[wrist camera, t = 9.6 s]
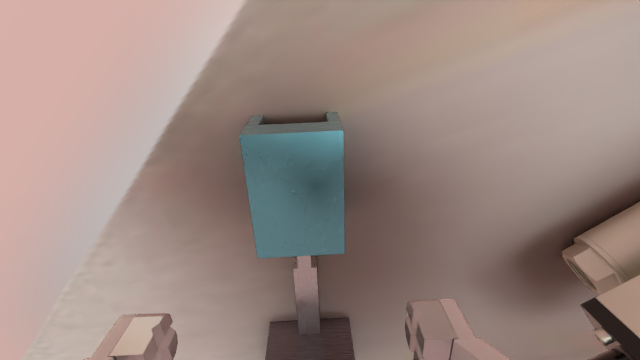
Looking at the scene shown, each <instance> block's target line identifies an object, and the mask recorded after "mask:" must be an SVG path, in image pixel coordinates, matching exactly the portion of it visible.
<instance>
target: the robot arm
mask: <svg viewBox="0 0 640 360" xmlns="http://www.w3.org/2000/svg"><path fill="white" fill-rule="evenodd" d="M406 310H407V313H408V317H407V318H406V320H405V330H406V338H407V342H408V346H409V349H410V350H411V351H412V352H414V360H510V359H509V358H508V357H506V356H505V355H503V354H502V353H501V352H499V351H498V350H496V349H495V348H493V347H492V346H491V345H489V344H488V343H486V342H485V341H484V340H482V339H481V338H475V336H474V334H473V332H472V331H471V329H470V327H469V325H468V323H467V322H466V320H465V318H464V316H463V314H462V313H461V311H460V309H459V307H458V305H457V304H456V302H455V300H454V299H452V298H448V299H437V300H436V299H432V300H415V301H408V303H407V309H406ZM172 322H173V321H172V318H171V315H170V314H167V313H162V314H133V315H123V316H121V317H120V318H119V319H118V320H117V321H116V323H115V324H114V326H113V327H112V329H111V330H110V331H109V333H108V334H107V336H106V337H105V339H104V340H103V341H102V343H101V344H100V346H99V347H98V349H97V350H96V351H95V353H94V354H93V356H92V357H91V358H86V359H84V360H173V358H174V356H175V354H176V349H177V344H178V341H177V334H176V331H175V330H174V329H173V328H171V327H170V326H171V324H172Z"/></svg>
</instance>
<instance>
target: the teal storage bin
mask: <svg viewBox="0 0 640 360" xmlns="http://www.w3.org/2000/svg"><path fill="white" fill-rule="evenodd" d="M239 137H240V144H241V151H242V157H243V164H244V171H245V178H246V184H247V191H248V198H249V204H250V211H251V218H252V225H253V231H254V238H255V245H256V251H257V258H274V257H293V256H312V255H331V254H345V230H344V130H343V127H342V125H341V122H340V119H339V116H338V114H337V112H327V113H326V122H313V123H291V124H270V125H264V116H263V115H262V116H252V118H251V119H250V121H249V122H248V123H247V125H246V126H245V128H244V129H243V131H242V132H241V134H240V135H239Z"/></svg>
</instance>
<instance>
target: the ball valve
mask: <svg viewBox="0 0 640 360" xmlns="http://www.w3.org/2000/svg"><path fill="white" fill-rule="evenodd" d="M574 243H575V244H574V245H572V246H570V247H568V248H566V249H565V250H563V251H562V256H563V259H564V260H565V262H566V263H567V265H568V266H569V267H570V269H571V270H572V271H573V272H574V273H575V274H576V276H577V277H578V278H579V279H580V280H581V281H582V282H583V283H584V284H585V285H586V286H587V287H588V288H589V289H591V290H592V291H593V292H594V293H596V294H597V295H599V296H597V297H595V298H593V299H591V300H589V301H587V302H585V303H583V304H581V307H582V309H583V310H584V312H585V314H586V315H587V317H588V318H589V320H590V322H591V323H592V325H593V326H594V328H595V330H594V331H593V333H594V335H595V336H596V337H597V339H598V340H599V341H600V342H601V343H602V344H603V345H605V346H606V347H607V349H608V351H606V352H604V353H601V354H599V355H597V356H595V357H593V358H590V359H588V360H640V202H638V203H636V204H634V205H633V206H631V207H629V208H627V209H626V210H624V211H622V212H620V213H618V214H617V215H615V216H613V217H611V218H609V219H608V220H606V221H604V222H602V223H600V224H599V225H597V226H595V227H593V228H591V229H590V230H588V231H586V232H584V233H582V234H581V235H579V236H577V237H575V238H574Z"/></svg>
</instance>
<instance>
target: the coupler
mask: <svg viewBox="0 0 640 360" xmlns="http://www.w3.org/2000/svg"><path fill="white" fill-rule="evenodd" d="M293 275H294V286H295V296H296V307H297V317H298V321H286V322H270V328H269V336H268V343H267V351H266V358H265V360H355V358H354V351H353V344H352V337H351V330H350V323H349V318H340V319H322V320H320V316H319V298H318V280H317V261H316V256H297V257H294V260H293Z"/></svg>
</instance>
